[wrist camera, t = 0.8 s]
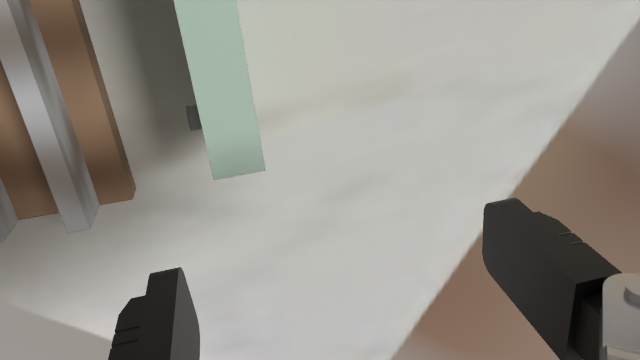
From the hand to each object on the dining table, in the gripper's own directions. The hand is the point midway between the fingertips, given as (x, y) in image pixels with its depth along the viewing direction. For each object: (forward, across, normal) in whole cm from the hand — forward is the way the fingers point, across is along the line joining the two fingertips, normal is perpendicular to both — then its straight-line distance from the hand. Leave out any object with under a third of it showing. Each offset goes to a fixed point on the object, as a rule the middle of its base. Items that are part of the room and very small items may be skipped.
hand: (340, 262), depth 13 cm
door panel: (+21, +2, -5) cm, 22 cm away
